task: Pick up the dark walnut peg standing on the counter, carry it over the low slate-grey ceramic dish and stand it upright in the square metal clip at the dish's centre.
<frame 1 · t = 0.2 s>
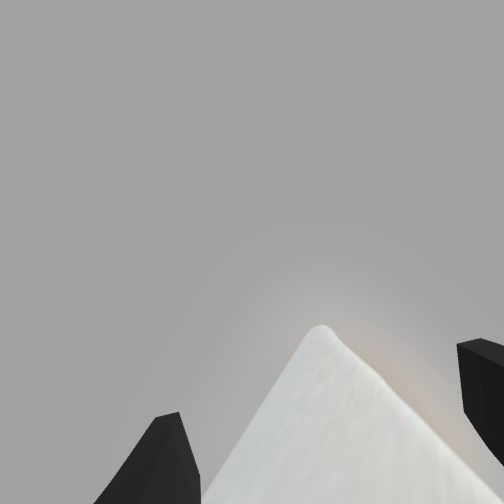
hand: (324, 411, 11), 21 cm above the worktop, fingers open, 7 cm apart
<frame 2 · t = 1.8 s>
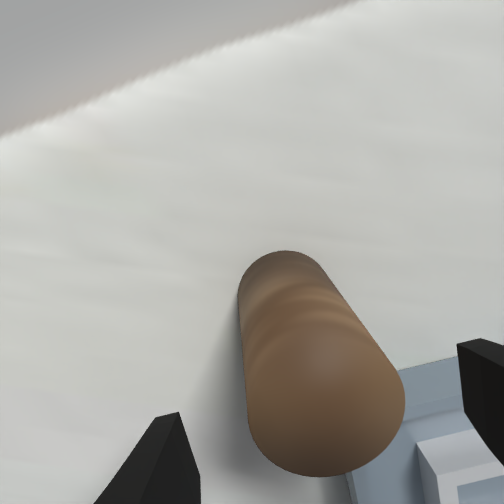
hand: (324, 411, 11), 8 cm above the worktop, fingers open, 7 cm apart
candle dish: (485, 471, 22), on the worktop
walnut peg: (284, 295, 18), on the worktop
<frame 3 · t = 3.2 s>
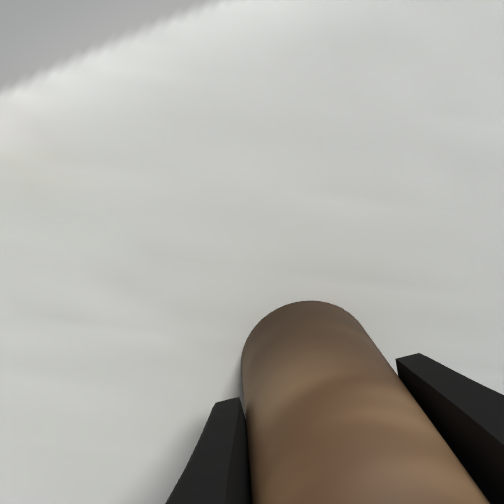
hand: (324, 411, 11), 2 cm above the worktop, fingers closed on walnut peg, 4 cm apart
walnut peg: (306, 361, 13), on the worktop, touching gripper
when the fingers open (4 cm above the worktop, at t = 7.8 s): walnut peg drops 1 cm, resting on candle dish.
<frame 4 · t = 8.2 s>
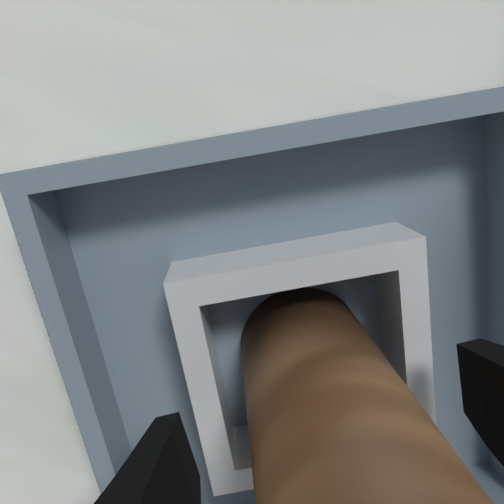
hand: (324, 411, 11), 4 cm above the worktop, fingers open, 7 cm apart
candle dish: (295, 332, 15), on the worktop
walnut peg: (300, 343, 14), point 1 cm above the worktop, touching candle dish
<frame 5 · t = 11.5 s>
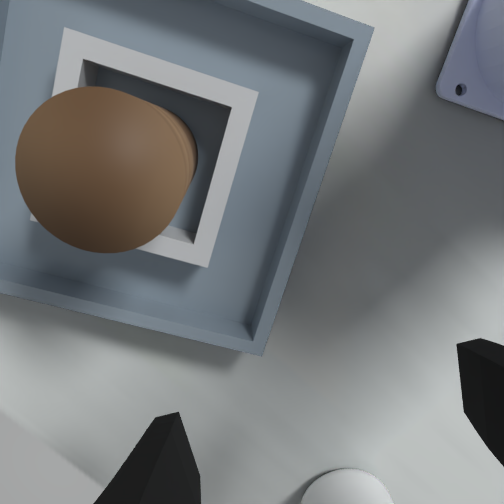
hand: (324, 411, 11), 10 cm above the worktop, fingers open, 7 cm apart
candle dish: (153, 154, 19), on the worktop
walnut peg: (150, 155, 18), point 1 cm above the worktop, touching candle dish
drinking glass: (341, 497, 25), on the worktop
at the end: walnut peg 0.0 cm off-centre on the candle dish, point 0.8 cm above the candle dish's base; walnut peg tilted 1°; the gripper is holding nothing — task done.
